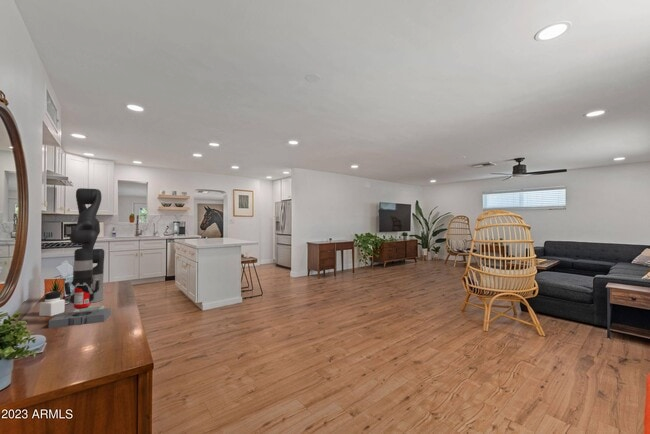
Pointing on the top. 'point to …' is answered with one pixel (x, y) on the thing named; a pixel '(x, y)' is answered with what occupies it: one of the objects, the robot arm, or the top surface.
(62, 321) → the socket plate
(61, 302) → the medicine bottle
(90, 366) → the top surface
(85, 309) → the tray frame
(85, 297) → the beverage can
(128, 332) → the top surface
